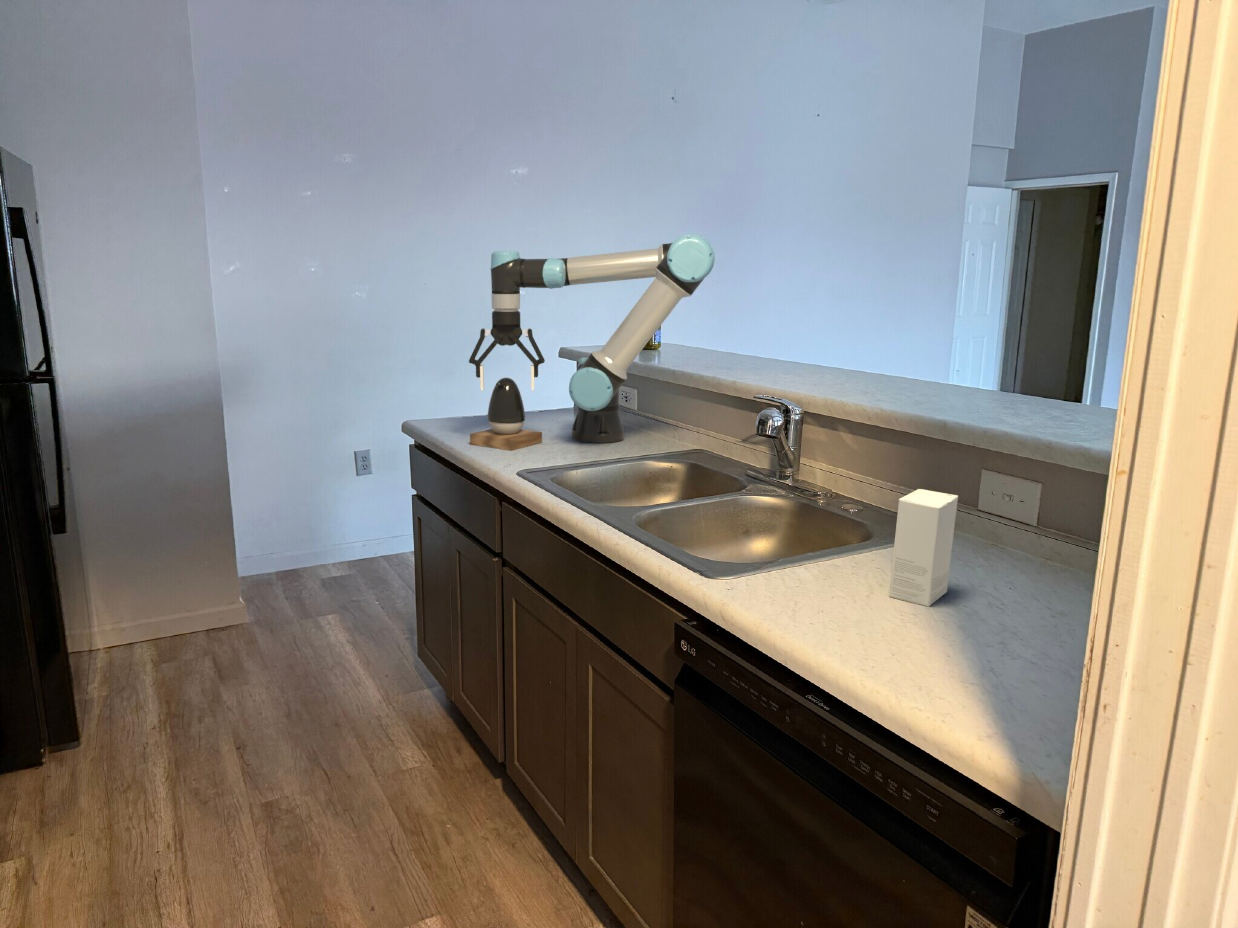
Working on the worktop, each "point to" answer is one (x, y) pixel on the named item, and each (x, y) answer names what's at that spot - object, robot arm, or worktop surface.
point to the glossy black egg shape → (506, 408)
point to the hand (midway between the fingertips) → (507, 389)
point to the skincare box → (923, 546)
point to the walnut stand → (506, 439)
